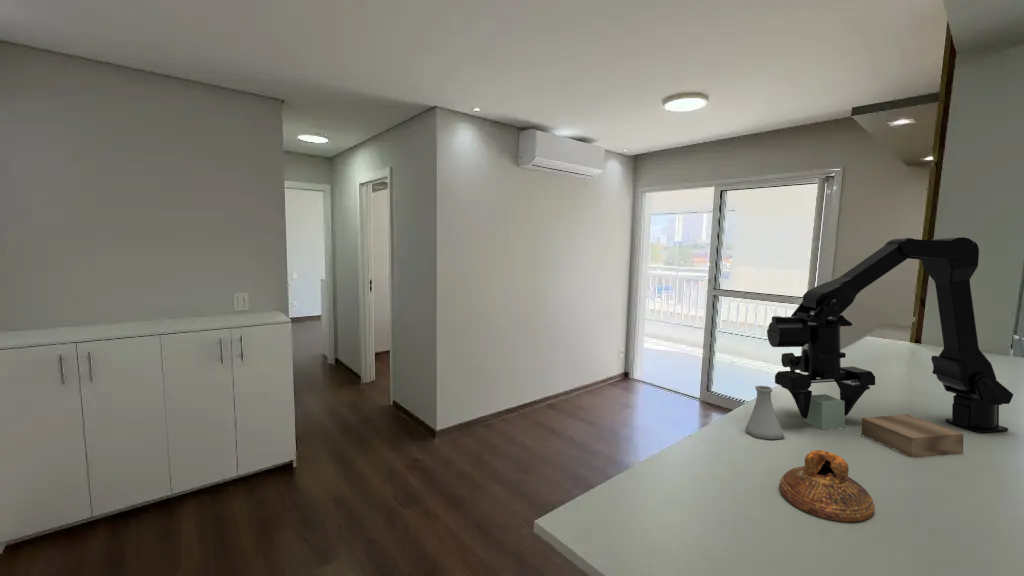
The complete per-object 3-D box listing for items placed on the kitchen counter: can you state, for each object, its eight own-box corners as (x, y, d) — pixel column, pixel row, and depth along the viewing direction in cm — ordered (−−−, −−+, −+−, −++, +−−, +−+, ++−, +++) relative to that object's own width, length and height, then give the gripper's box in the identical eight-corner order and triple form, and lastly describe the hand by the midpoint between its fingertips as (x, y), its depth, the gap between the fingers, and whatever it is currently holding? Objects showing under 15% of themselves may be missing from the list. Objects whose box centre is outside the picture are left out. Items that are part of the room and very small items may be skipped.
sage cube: (825, 420, 93) (825, 394, 93) (844, 428, 88) (844, 401, 88) (804, 421, 93) (804, 395, 92) (822, 430, 88) (822, 402, 87)
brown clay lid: (889, 506, 61) (889, 458, 61) (851, 535, 55) (851, 483, 55) (802, 473, 72) (802, 432, 71) (763, 495, 66) (762, 451, 65)
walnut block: (907, 433, 85) (907, 414, 85) (963, 455, 75) (963, 433, 75) (861, 437, 85) (861, 417, 84) (911, 459, 75) (911, 437, 74)
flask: (791, 441, 83) (790, 393, 83) (752, 440, 85) (751, 392, 84) (776, 427, 90) (775, 382, 90) (740, 426, 92) (739, 382, 91)
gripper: (833, 337, 98) (834, 401, 99) (758, 342, 97) (759, 406, 98) (877, 346, 87) (877, 418, 88) (793, 351, 86) (793, 424, 87)
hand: (824, 416), depth 90 cm, fingers open, 9 cm apart
